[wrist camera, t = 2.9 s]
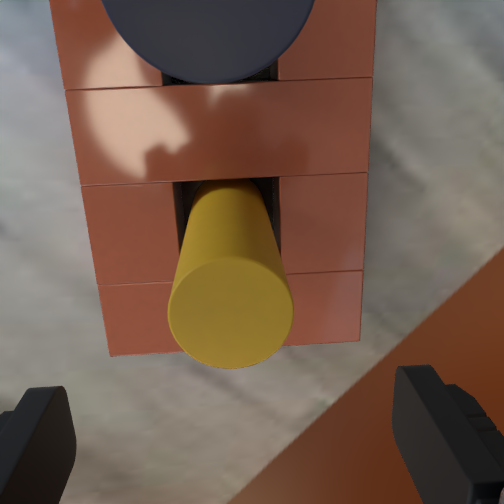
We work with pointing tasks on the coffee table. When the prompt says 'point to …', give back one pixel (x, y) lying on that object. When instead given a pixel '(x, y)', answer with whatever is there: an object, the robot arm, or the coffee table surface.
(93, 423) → the coffee table surface
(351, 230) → the peg stand
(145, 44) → the navy peg
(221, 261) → the yellow peg
